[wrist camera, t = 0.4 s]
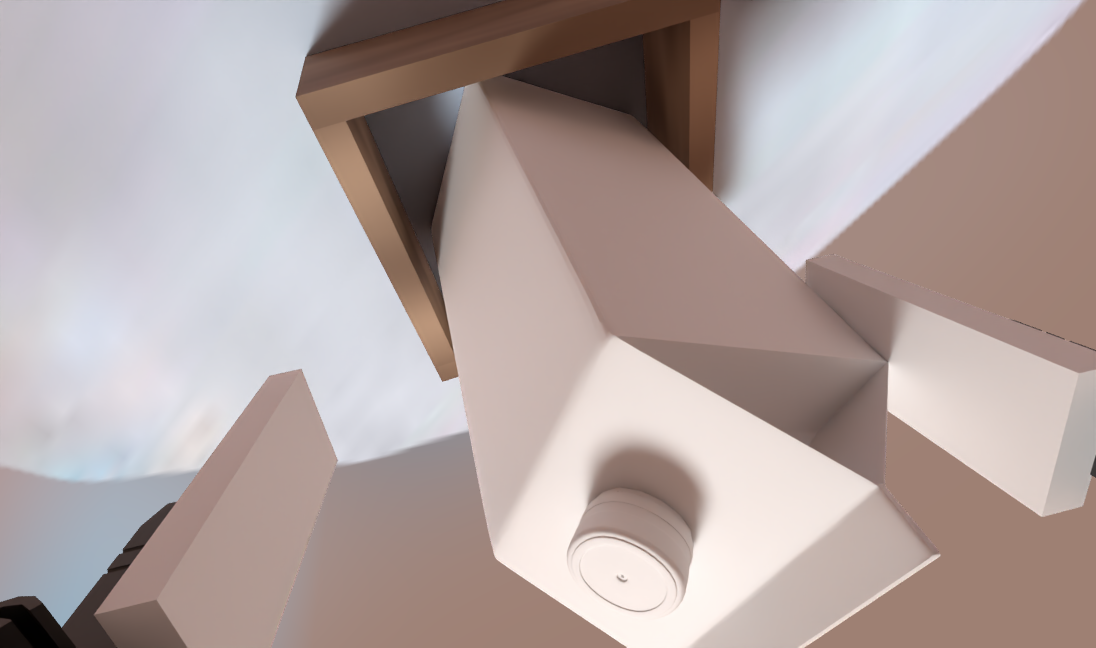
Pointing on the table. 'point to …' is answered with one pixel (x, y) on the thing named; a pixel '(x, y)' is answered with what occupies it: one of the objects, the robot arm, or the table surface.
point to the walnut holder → (483, 53)
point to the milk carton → (656, 389)
